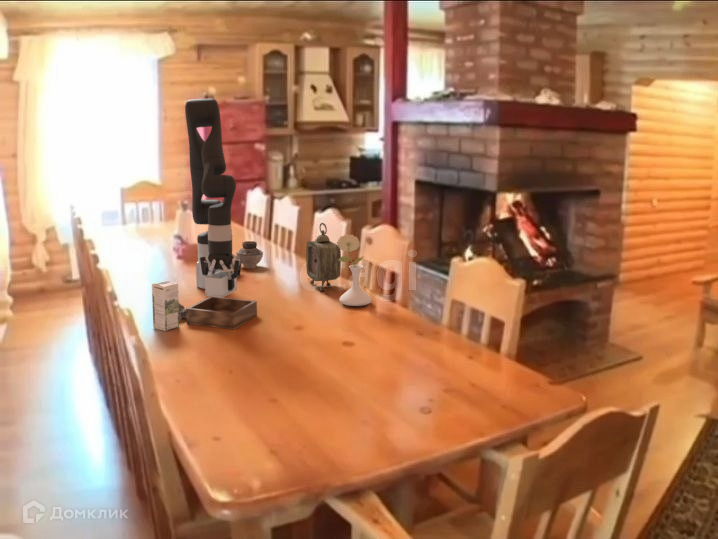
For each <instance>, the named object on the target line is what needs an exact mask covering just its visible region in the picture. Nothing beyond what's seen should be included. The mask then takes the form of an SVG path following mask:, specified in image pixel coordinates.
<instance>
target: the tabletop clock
mask: <svg viewBox="0 0 718 539" xmlns="http://www.w3.org/2000/svg"><path fill="white" fill-rule="evenodd" d="M322 226H323V227H324V229H325V230H324V229H323V230H322ZM327 228H328V227H327V225H326V223H324V222H321V223H320V224H319V232H320V235H318V236H317V237H316V240H309V241H307V242H306V250H305V251H306V253H305V254H306V255H305V257H306V259H305V260H306V261H305V262H306V264H305V265H306V274H307V276H308V277H309V278H310V279H311V280H310V281H309V282H310V284H311V285H314V284H315V282H321V286H320V287H319V291H321V292H323V291H324V290H325V288H324V285H326V287H328V288H330V287H331V283H330V282H329V281H335V280H337V279H339V278H340V277H341V271H342V270H341V269H342V268H341V267H342V266H341V265H342V261H338V259H339V258H340V257H342V254H341V252H342V250H341V249H339V247H338V245H337V243H334V242H333V241H331V240H330V238H329V236H328V235H327V232H328V229H327ZM325 282H326V284H325Z"/></svg>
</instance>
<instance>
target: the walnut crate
mask: <svg viewBox="0 0 718 539" xmlns="http://www.w3.org/2000/svg"><path fill="white" fill-rule="evenodd" d="M257 302H258V301H256V300H251V299H249V300H248V299H239V298H231V297H223V298H221V297H212V296H207V298H204V299H202V300H200V301H199V302H196V303H194V304H192V305H191V306H188V307H186V308H185V309H186V318H185V320H186V324H188V325H195V326H204V327H209V328H210V327H213V328H219V329H228V330H237V329H238V328H239V327H241V326H243V325H244V324H247V322H249V321H250V320H253V319H255V317H257V315H258V310H257V309H258V304H257Z"/></svg>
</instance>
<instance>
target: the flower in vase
mask: <svg viewBox="0 0 718 539" xmlns="http://www.w3.org/2000/svg"><path fill="white" fill-rule="evenodd" d="M336 244H337V245H338V247H339V249H340V251H341V252H342V251H344V252H348V253H347V254H348V256H344V255H341V257H340V258H339V259H338V261H341V263H342V262H343V263H347V262H348V261H349V260H350V262H351V263H352V264H350V265H349V266H348V267H349V269H350V271H351V274H352V283H351V284H352V285H351V287H350V288H349V289H347V291H345V292H344V293H343V294H342V295H341V296H339V302H340V303H341V304H343V305H345V306H350V307H362V306H366V305H369V304H371V302H372V300H373V299H372V297H371V295H369V294H368V293H367V292H366V291H365V290H363V289H362V287H361V286H360V276H361V275H360V274H361V271H362V270H363V268H364V266H363V265H361V264H356V263H360V262H361V261H362V260H363V258H364V256H360V257H358V258H355V260H352V259H351V257H350V252H354V251H357V250H358V248H360V246H361V242H360V240H359V238H358V236H355V235H354V234H343V235H341V236H340V237H339V238H338V240H337V242H336Z"/></svg>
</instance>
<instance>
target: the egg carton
mask: <svg viewBox="0 0 718 539" xmlns="http://www.w3.org/2000/svg"><path fill="white" fill-rule="evenodd" d="M182 319H186V308H185V306H184V305H183V304H181V303H180V302H179V321H182Z"/></svg>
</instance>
